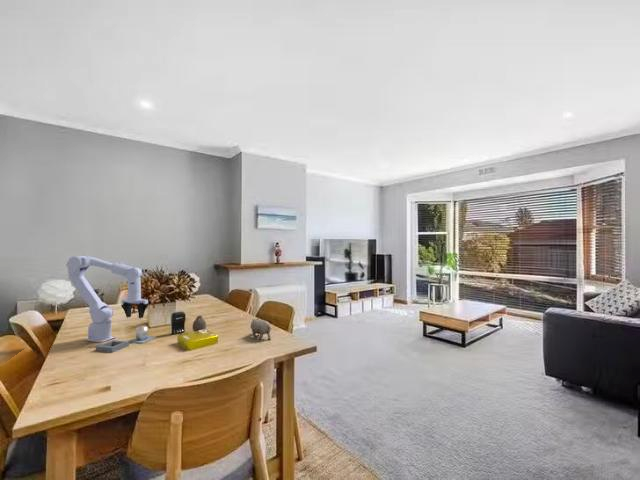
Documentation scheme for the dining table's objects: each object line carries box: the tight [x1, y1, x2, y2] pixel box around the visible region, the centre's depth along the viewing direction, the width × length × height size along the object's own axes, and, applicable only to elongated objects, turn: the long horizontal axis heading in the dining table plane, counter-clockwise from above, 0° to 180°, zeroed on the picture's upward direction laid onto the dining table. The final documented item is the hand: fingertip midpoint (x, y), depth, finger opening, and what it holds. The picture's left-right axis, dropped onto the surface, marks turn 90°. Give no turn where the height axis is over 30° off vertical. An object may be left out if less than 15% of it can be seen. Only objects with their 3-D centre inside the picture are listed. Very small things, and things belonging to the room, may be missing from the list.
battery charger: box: [170, 310, 187, 335], centre depth 165 cm, size 7×4×11 cm, turn 132°
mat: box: [128, 335, 158, 345], centre depth 153 cm, size 9×9×1 cm
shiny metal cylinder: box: [135, 325, 149, 341], centre depth 153 cm, size 5×5×6 cm
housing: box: [95, 339, 130, 353], centre depth 141 cm, size 9×9×2 cm
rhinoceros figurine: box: [250, 317, 272, 340], centre depth 158 cm, size 8×14×15 cm
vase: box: [192, 315, 207, 332], centre depth 166 cm, size 7×7×9 cm
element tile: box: [177, 328, 219, 351], centre depth 149 cm, size 15×15×5 cm
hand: (134, 317), depth 157 cm, fingers open, 7 cm apart
